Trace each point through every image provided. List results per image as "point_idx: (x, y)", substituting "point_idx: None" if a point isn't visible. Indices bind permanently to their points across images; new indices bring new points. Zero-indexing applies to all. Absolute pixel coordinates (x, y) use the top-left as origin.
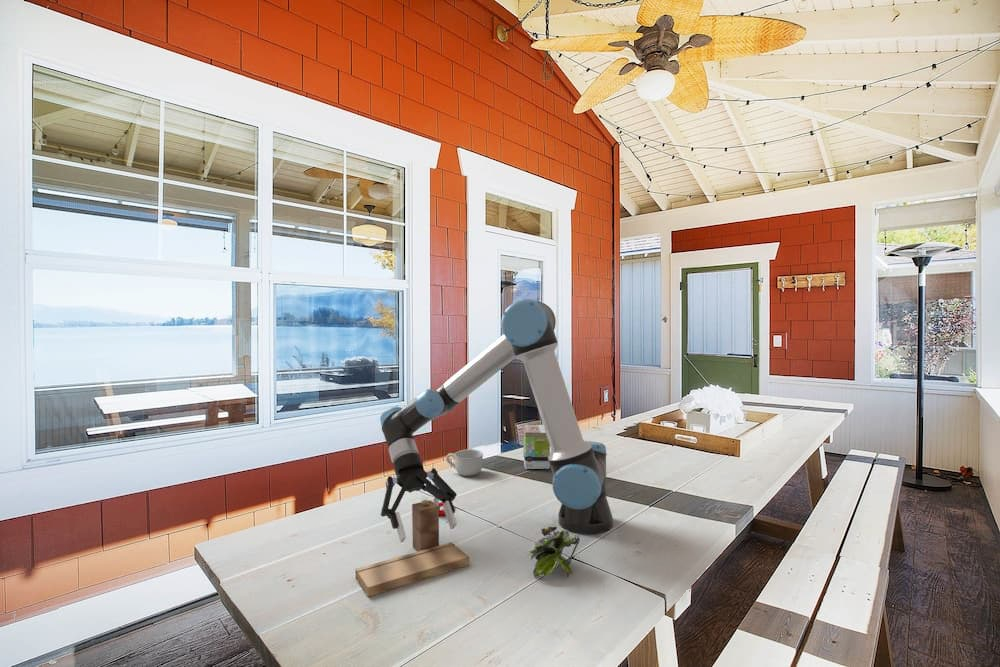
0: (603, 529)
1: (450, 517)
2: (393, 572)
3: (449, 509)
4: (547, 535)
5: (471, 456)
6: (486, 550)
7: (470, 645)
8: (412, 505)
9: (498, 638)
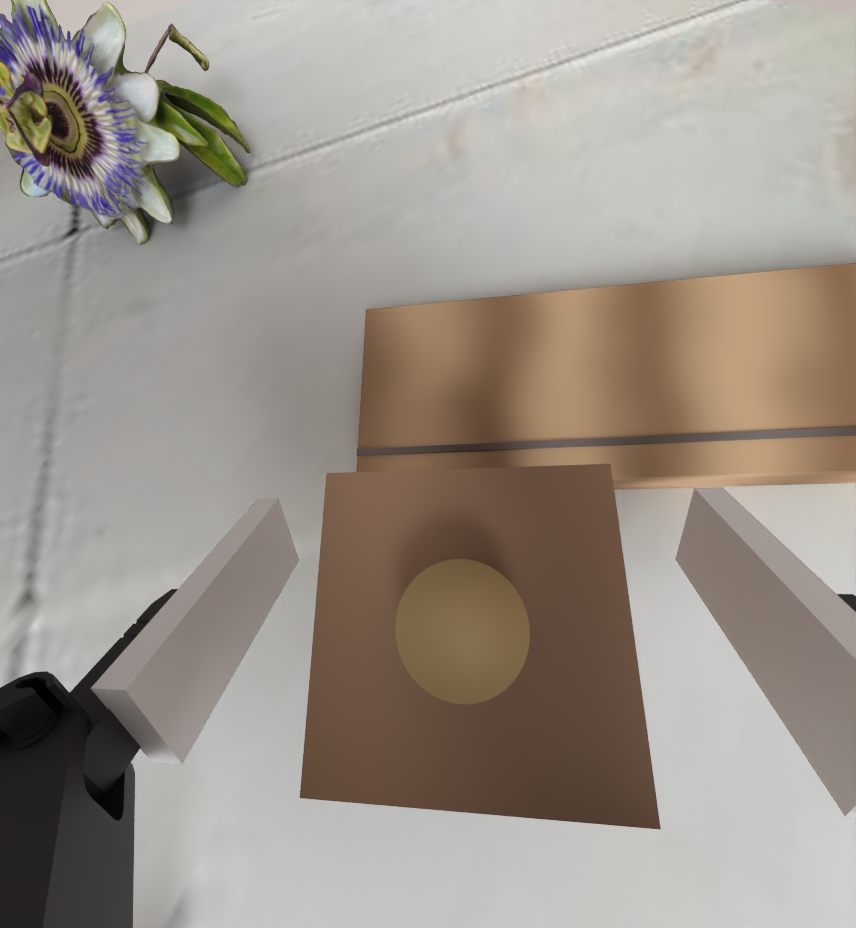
0: None
1: (250, 558)
2: (770, 328)
3: (197, 591)
4: (68, 40)
5: None
6: (245, 409)
7: (584, 4)
8: (651, 796)
9: (507, 9)
